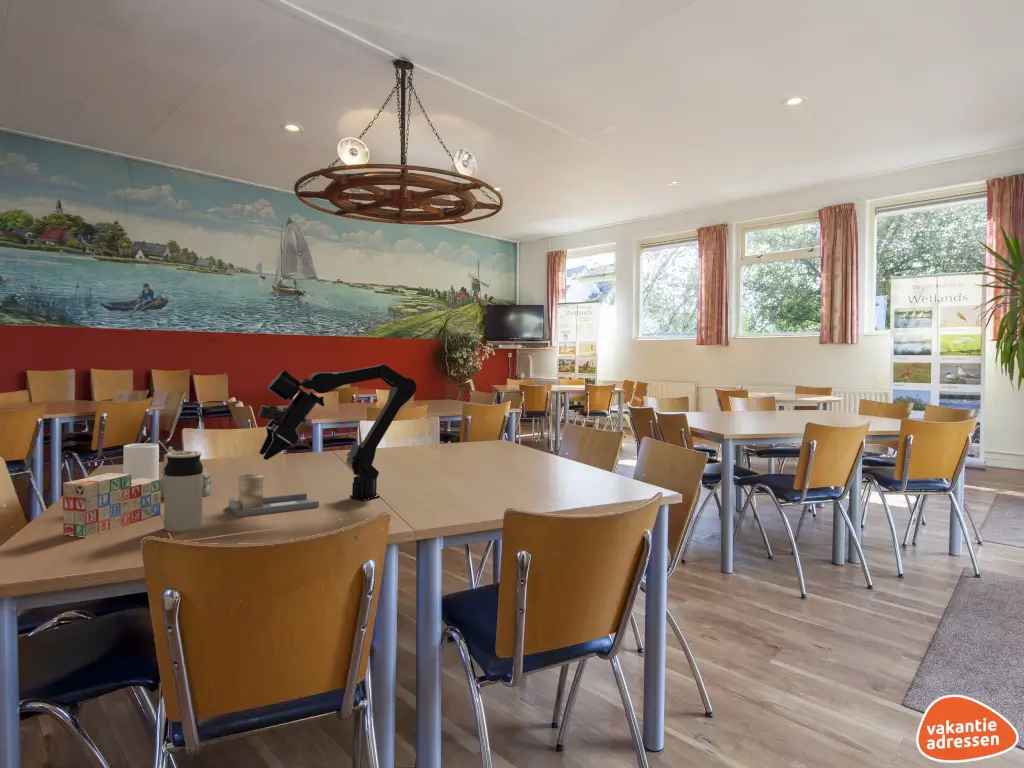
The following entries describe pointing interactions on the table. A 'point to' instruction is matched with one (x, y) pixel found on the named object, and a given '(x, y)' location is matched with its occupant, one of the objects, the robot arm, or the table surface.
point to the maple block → (250, 491)
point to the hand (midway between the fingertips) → (262, 456)
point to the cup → (141, 460)
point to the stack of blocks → (108, 502)
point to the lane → (275, 505)
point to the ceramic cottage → (206, 478)
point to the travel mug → (183, 491)
